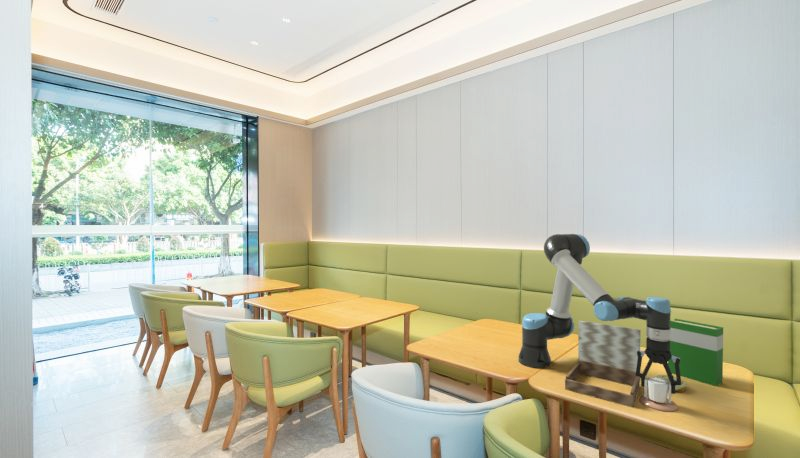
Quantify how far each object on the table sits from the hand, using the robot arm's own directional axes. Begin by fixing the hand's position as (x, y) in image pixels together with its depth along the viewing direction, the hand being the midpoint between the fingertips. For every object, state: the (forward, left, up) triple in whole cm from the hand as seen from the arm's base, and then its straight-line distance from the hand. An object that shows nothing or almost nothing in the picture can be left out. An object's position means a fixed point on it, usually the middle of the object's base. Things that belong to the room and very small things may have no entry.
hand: (657, 398), depth 141 cm
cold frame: (-19, +2, -2) cm, 19 cm away
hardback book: (+11, +40, -2) cm, 42 cm away
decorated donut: (+3, +21, -3) cm, 21 cm away
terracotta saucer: (0, 0, -2) cm, 2 cm away
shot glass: (0, 0, -1) cm, 1 cm away
